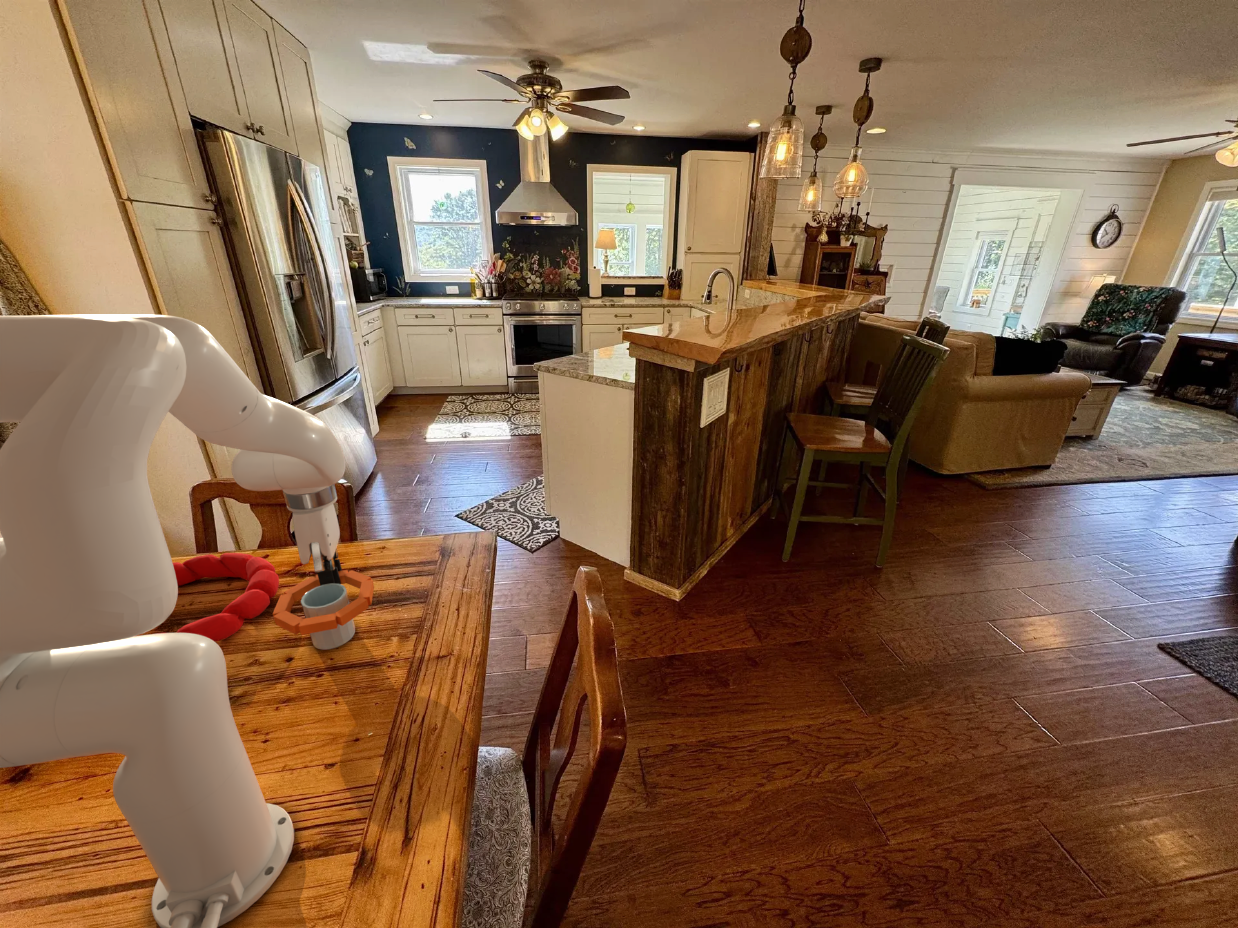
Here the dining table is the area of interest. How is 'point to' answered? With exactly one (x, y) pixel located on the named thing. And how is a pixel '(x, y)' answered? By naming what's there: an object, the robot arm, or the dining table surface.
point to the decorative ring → (244, 606)
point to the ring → (325, 621)
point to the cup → (325, 603)
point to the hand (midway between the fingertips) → (332, 582)
